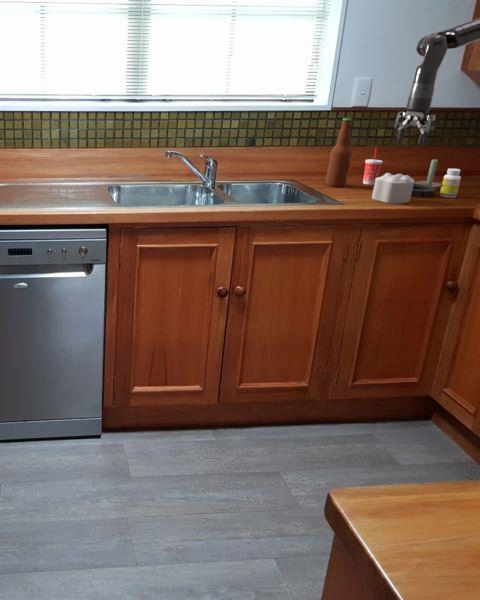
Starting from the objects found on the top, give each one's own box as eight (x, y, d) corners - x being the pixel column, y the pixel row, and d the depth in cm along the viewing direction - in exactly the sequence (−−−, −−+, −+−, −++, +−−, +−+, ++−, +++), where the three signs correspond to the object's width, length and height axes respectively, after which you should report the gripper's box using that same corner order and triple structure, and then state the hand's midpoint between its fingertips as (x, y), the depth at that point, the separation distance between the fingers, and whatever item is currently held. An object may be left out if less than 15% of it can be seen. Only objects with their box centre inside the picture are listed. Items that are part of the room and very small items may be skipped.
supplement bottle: (440, 193, 225) (447, 167, 221) (457, 196, 221) (464, 169, 218) (437, 196, 221) (444, 169, 217) (454, 198, 218) (461, 171, 214)
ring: (439, 195, 222) (441, 189, 221) (423, 199, 216) (425, 192, 215) (409, 189, 231) (411, 183, 230) (393, 192, 225) (394, 186, 224)
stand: (445, 188, 234) (452, 160, 230) (433, 190, 229) (440, 162, 225) (422, 184, 241) (429, 157, 237) (410, 186, 236) (416, 159, 232)
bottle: (349, 186, 234) (362, 119, 224) (334, 187, 231) (347, 119, 221) (335, 182, 240) (347, 117, 230) (321, 183, 237) (332, 117, 228)
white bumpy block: (367, 197, 217) (372, 173, 213) (392, 194, 222) (397, 170, 219) (392, 204, 208) (397, 179, 205) (418, 201, 213) (423, 176, 210)
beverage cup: (374, 182, 242) (382, 146, 237) (380, 185, 237) (387, 149, 231) (358, 181, 243) (365, 146, 237) (363, 184, 237) (371, 148, 232)
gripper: (446, 97, 210) (434, 145, 216) (409, 94, 222) (400, 140, 228) (432, 98, 207) (420, 146, 213) (395, 95, 218) (386, 141, 225)
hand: (410, 143), depth 220 cm, fingers open, 8 cm apart
